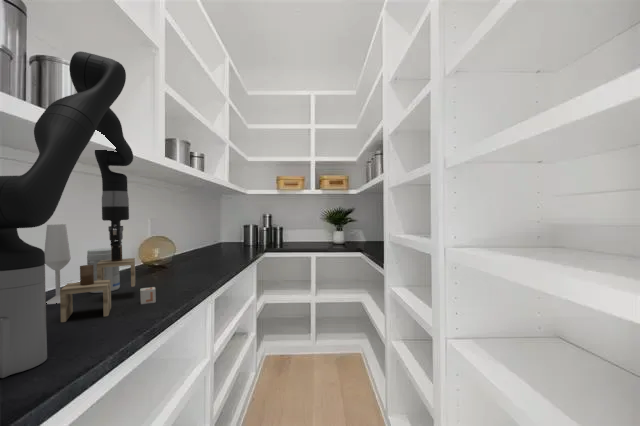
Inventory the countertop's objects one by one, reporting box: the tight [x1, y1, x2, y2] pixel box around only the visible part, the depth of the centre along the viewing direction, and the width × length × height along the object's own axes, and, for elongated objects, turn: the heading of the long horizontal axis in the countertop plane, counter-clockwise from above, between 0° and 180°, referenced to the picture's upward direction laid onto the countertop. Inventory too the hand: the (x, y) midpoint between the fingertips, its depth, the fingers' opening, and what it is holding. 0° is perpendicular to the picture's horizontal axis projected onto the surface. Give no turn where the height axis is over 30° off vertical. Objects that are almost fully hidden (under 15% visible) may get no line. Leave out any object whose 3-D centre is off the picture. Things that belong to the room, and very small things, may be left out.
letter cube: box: [139, 286, 157, 305], centre depth 104 cm, size 4×4×4 cm
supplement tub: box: [86, 247, 121, 294], centre depth 122 cm, size 10×10×15 cm
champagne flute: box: [43, 223, 71, 305], centre depth 107 cm, size 7×7×24 cm
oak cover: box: [97, 245, 136, 288], centre depth 111 cm, size 10×10×13 cm
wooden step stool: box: [59, 264, 112, 323], centre depth 92 cm, size 10×10×13 cm
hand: (116, 258), depth 111 cm, fingers closed on oak cover, 3 cm apart
